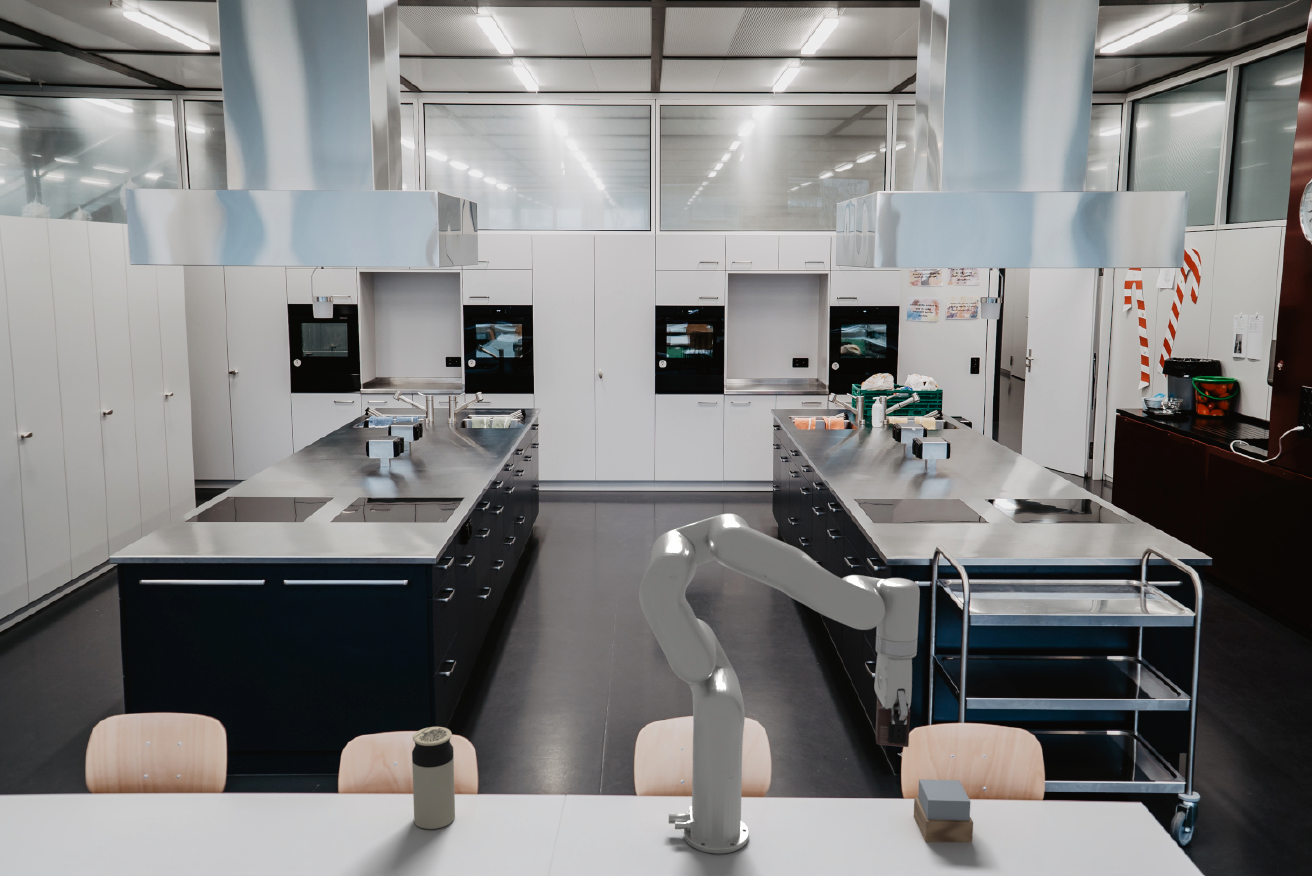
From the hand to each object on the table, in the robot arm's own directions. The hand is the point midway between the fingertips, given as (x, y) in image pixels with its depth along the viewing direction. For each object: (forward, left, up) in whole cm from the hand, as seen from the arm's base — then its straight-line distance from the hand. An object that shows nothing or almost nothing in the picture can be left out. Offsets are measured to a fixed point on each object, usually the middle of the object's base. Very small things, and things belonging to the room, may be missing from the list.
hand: (891, 732), depth 182 cm
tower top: (+12, +3, -17) cm, 21 cm away
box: (0, 0, -2) cm, 2 cm away
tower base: (+12, +3, -22) cm, 25 cm away
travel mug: (-89, +5, -22) cm, 92 cm away
